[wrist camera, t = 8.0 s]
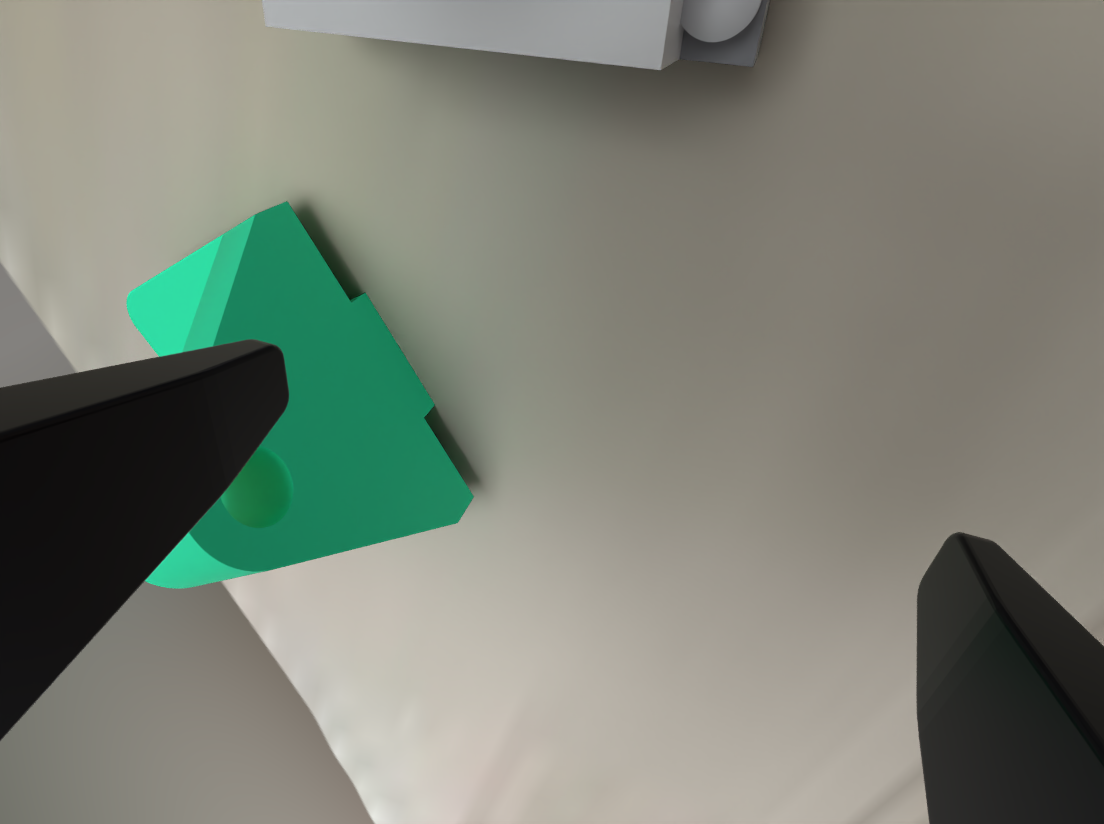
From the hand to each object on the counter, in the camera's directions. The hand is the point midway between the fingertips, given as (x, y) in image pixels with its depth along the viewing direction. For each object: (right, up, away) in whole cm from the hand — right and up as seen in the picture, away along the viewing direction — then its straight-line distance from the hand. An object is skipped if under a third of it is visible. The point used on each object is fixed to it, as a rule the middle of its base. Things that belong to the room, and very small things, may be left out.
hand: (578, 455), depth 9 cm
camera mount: (-9, +2, +17) cm, 19 cm away
